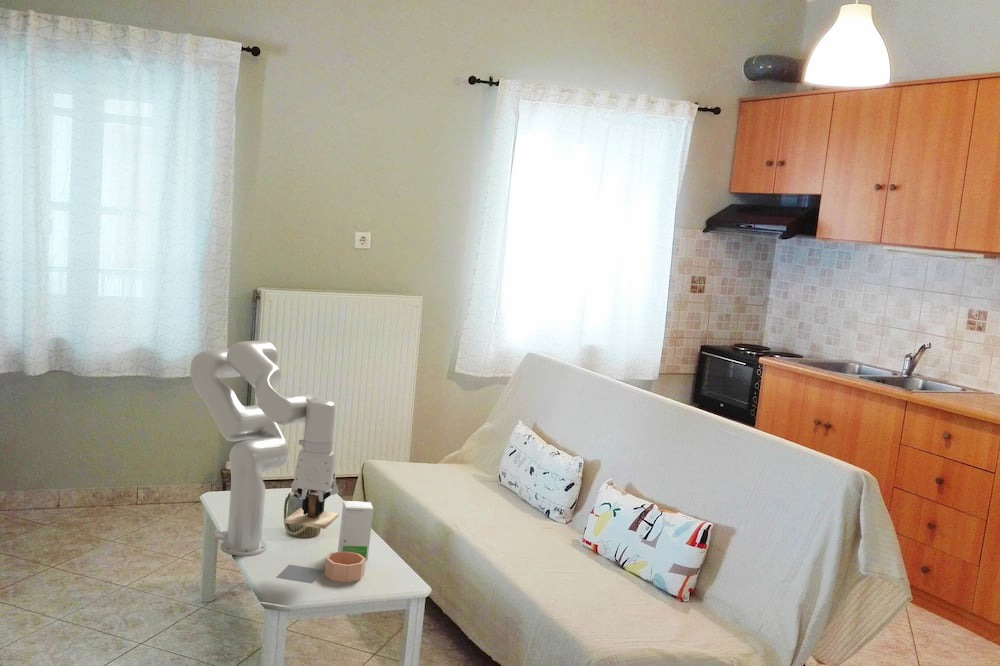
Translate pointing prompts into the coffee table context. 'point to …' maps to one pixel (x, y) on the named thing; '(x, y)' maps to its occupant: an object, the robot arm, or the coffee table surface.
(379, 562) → the coffee table surface
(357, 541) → the skincare box
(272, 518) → the coffee table surface
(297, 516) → the lid
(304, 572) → the mat
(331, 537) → the coffee table surface
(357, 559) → the bowl
